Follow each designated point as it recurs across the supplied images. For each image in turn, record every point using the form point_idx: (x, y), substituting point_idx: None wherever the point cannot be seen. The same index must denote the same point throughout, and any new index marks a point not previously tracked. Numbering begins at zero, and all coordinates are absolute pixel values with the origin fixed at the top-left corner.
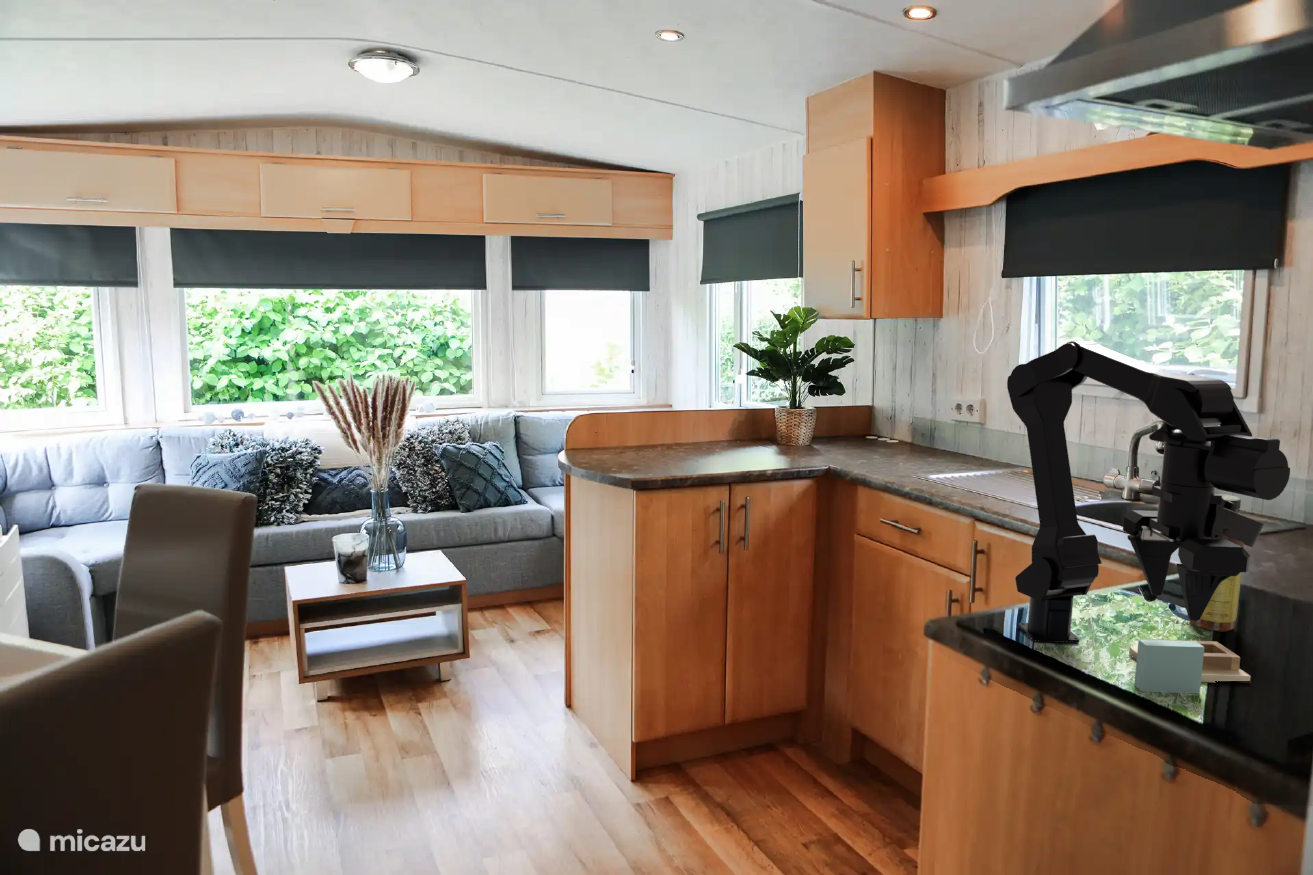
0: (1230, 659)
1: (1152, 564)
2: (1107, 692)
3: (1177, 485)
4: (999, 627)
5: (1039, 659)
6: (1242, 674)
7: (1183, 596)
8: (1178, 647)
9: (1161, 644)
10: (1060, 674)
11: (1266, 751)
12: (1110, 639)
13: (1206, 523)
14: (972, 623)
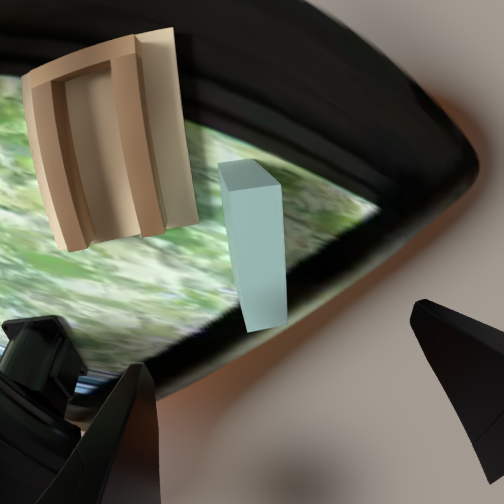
0: (137, 58)
1: (146, 501)
2: None
3: None
4: None
5: (159, 374)
6: (164, 41)
7: (447, 392)
8: (284, 254)
9: (275, 292)
10: (214, 360)
11: (444, 158)
12: (7, 258)
13: None
14: None
